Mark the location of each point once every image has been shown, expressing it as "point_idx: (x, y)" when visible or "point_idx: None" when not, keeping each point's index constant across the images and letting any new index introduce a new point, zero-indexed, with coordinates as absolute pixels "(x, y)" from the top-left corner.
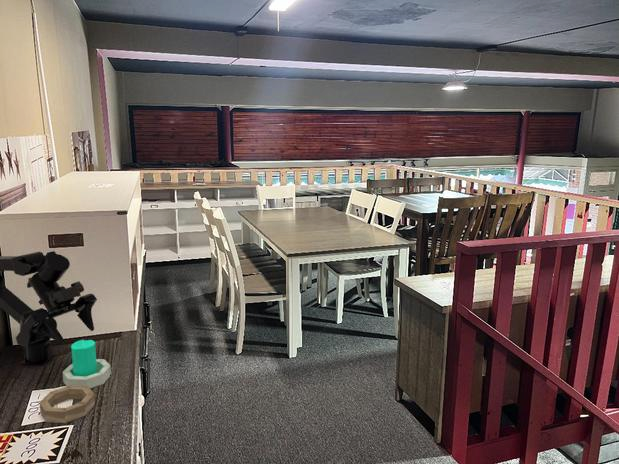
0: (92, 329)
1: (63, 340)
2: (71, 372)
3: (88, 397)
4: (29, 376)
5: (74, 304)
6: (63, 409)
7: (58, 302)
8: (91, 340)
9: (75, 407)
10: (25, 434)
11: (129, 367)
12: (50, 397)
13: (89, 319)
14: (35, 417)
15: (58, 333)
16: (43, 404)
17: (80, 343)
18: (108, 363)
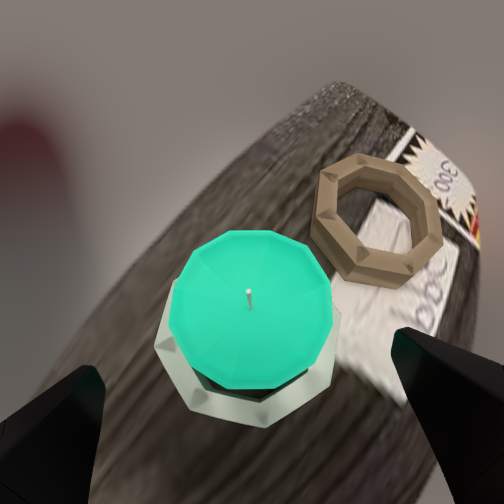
0: (95, 373)
1: (407, 330)
2: (291, 381)
3: (340, 167)
4: (366, 496)
5: None
6: (403, 172)
7: None
8: (174, 318)
9: (379, 159)
10: (454, 214)
11: (120, 287)
12: (419, 243)
13: (32, 422)
14: (436, 254)
15: (465, 362)
16: (436, 227)
17: (242, 360)
18: (167, 300)
